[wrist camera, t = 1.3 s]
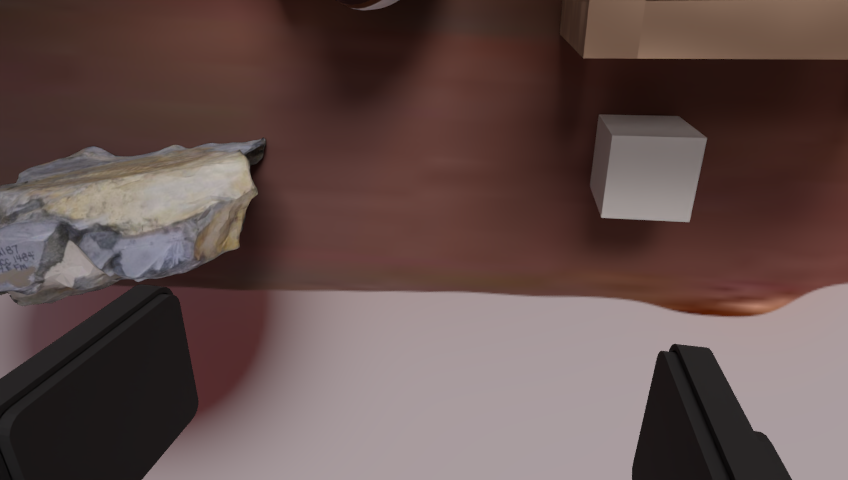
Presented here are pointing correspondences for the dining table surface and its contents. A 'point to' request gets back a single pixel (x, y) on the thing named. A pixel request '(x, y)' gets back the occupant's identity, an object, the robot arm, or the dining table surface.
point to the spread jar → (367, 4)
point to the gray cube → (646, 167)
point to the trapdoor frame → (707, 29)
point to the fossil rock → (121, 217)
